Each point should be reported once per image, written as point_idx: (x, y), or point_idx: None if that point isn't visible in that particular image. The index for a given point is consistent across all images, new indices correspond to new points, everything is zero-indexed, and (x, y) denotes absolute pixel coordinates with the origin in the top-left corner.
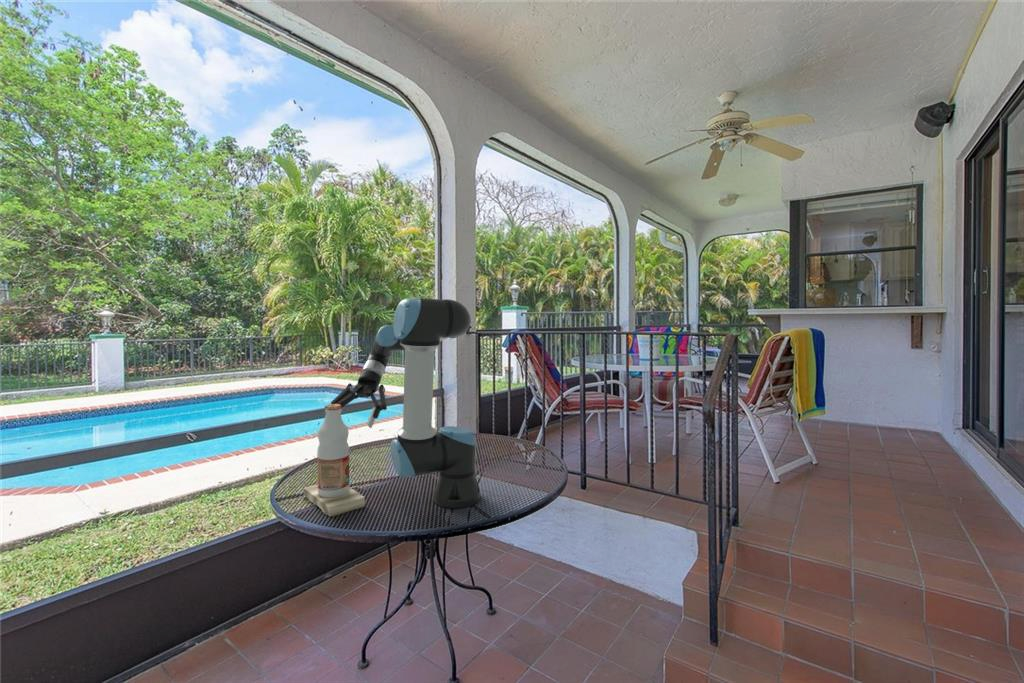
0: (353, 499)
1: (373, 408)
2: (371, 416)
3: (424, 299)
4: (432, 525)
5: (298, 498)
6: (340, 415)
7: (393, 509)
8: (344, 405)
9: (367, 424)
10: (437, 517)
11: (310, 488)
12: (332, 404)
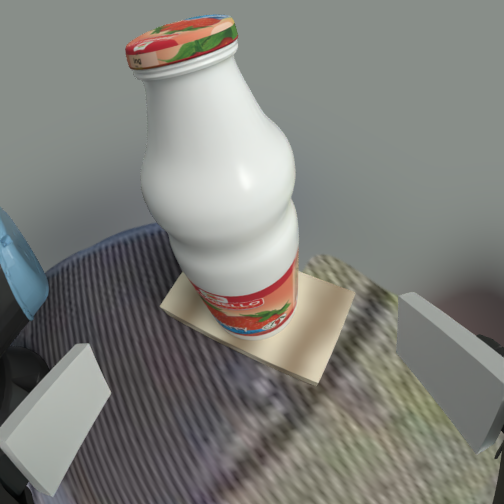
0: (178, 285)
1: (7, 431)
2: (44, 377)
3: None
4: None
5: (356, 292)
6: (146, 102)
7: (106, 321)
8: (497, 492)
9: (92, 355)
10: (38, 314)
11: (336, 297)
12: (196, 27)
